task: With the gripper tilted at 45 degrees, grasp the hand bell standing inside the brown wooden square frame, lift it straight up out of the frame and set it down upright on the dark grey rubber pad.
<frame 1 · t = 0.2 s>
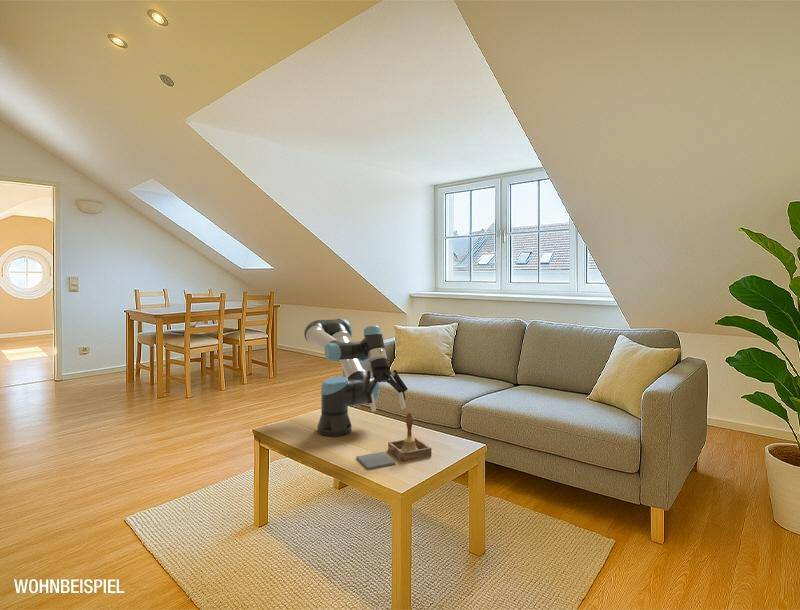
hand: (389, 409, 189), 16 cm above the table, tool tilted 35°, fingers open, 13 cm apart
hand bell: (409, 453, 186), resting in brown wooden square frame
brown wooden square frame: (409, 452, 186), on the table
grey rubber pad: (375, 461, 177), on the table
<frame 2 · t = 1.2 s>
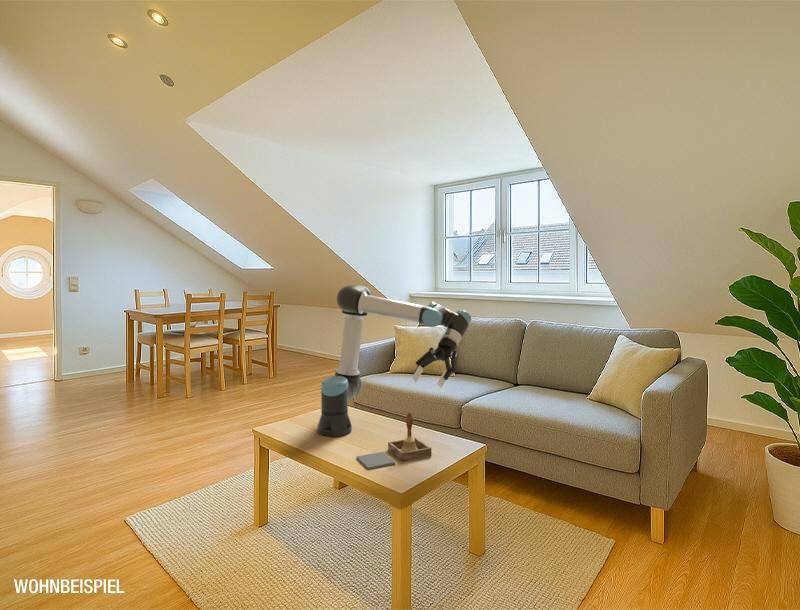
hand: (426, 382, 191), 26 cm above the table, tool tilted 45°, fingers open, 13 cm apart
nothing on the table moved.
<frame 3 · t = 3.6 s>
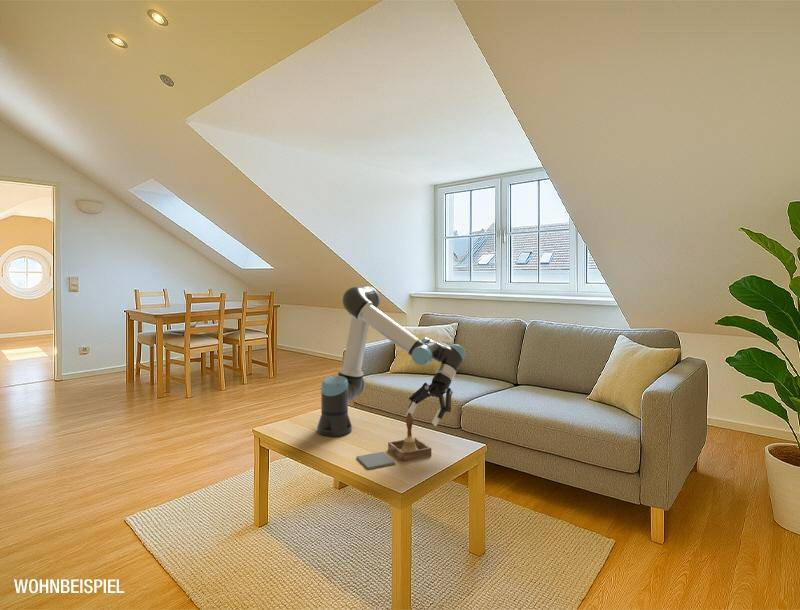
hand: (420, 420, 188), 12 cm above the table, tool tilted 45°, fingers open, 13 cm apart
nothing on the table moved.
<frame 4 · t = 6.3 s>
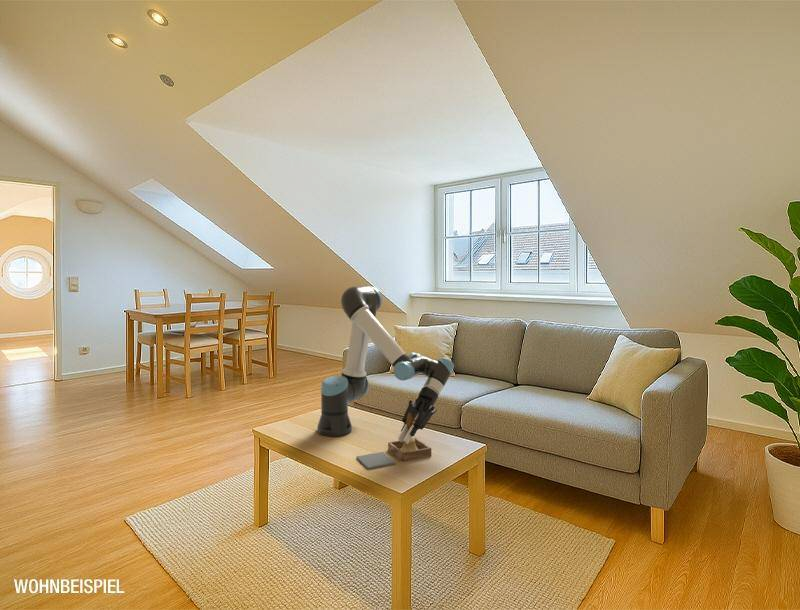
hand: (402, 441, 183), 6 cm above the table, tool tilted 45°, fingers closed on hand bell, 2 cm apart
hand bell: (409, 452, 186), resting in brown wooden square frame, touching gripper
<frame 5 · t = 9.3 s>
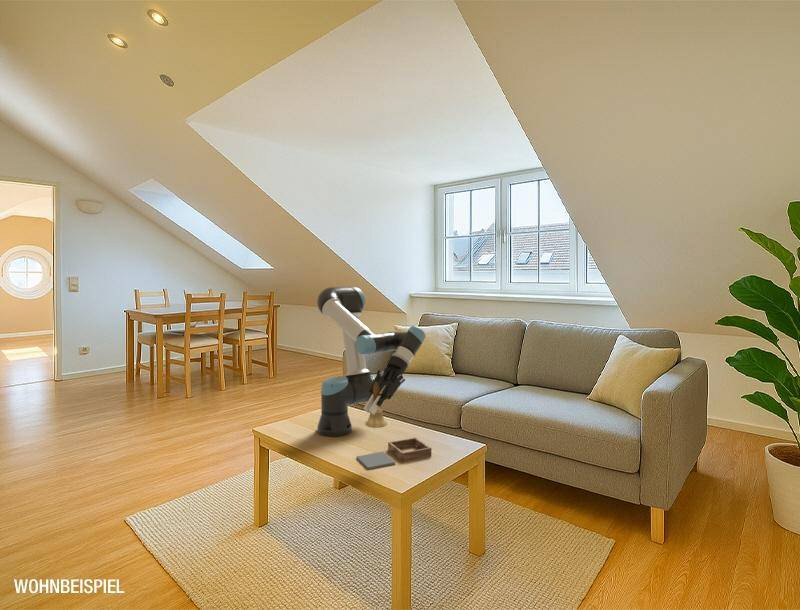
hand: (368, 411, 173), 20 cm above the table, tool tilted 45°, fingers closed on hand bell, 2 cm apart
hand bell: (376, 424, 176), point 14 cm above the table, touching gripper
when the fingers open (6 cm above the table, at t = 12.6 s): hand bell stays where it is, resting on grey rubber pad.
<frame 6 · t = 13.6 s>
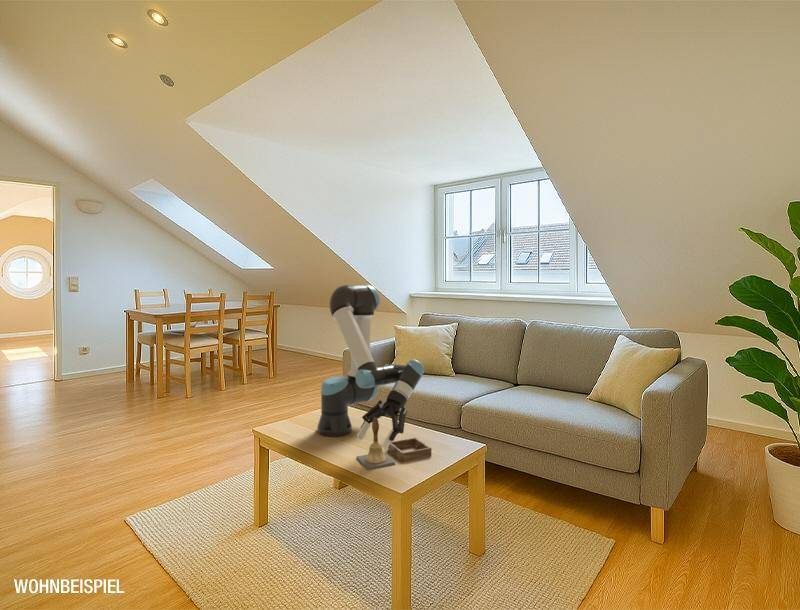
hand: (371, 442, 175), 8 cm above the table, tool tilted 45°, fingers open, 13 cm apart
hand bell: (375, 459, 177), point 1 cm above the table, touching grey rubber pad
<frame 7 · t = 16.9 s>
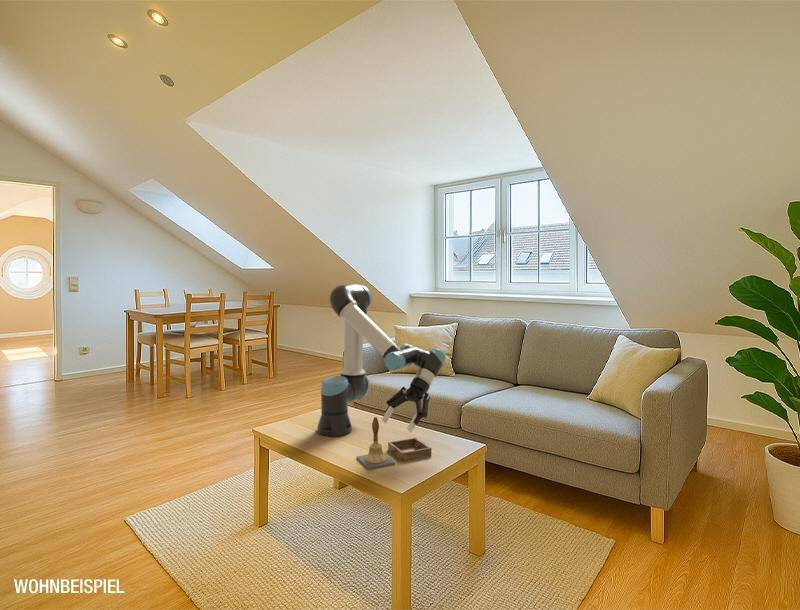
hand: (396, 426, 184), 11 cm above the table, tool tilted 45°, fingers open, 13 cm apart
nothing on the table moved.
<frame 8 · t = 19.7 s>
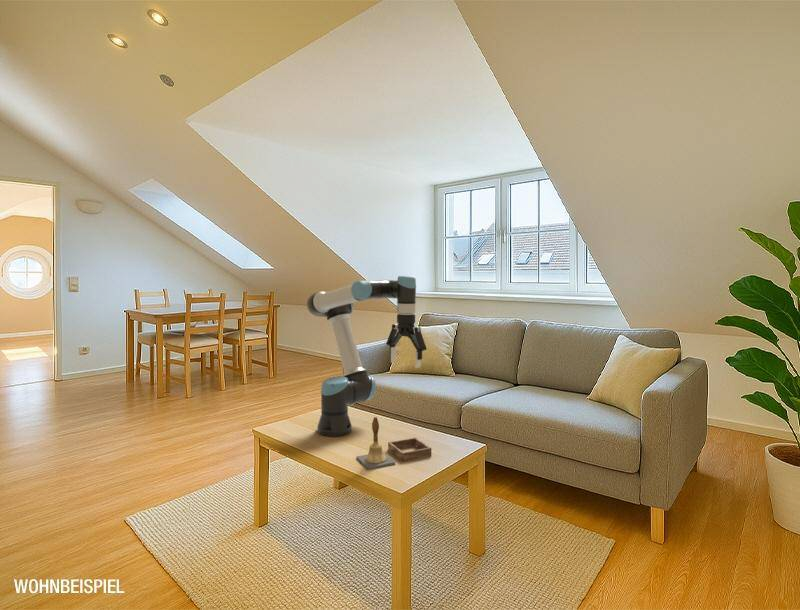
hand: (405, 364, 195), 33 cm above the table, tool pointing down, fingers open, 13 cm apart
nothing on the table moved.
at the end: hand bell inside the target area on the grey rubber pad (0.1 cm from its centre), point 0.6 cm above the grey rubber pad's base; hand bell tilted 0°; the gripper is holding nothing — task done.
